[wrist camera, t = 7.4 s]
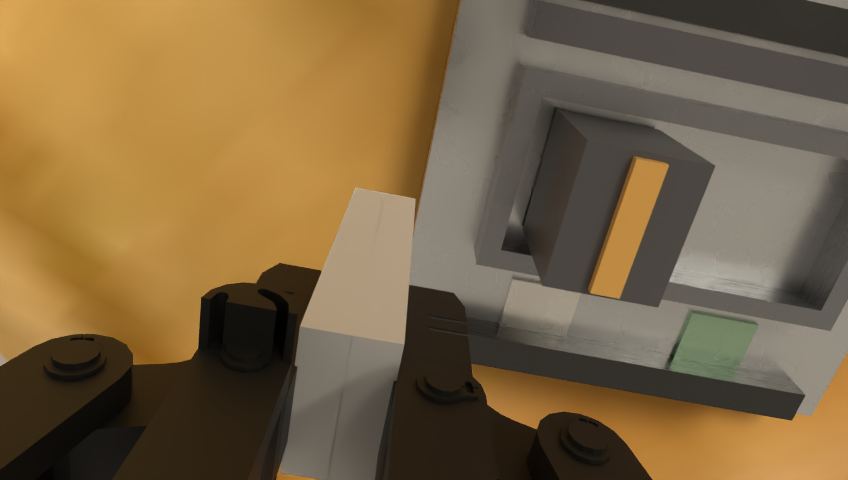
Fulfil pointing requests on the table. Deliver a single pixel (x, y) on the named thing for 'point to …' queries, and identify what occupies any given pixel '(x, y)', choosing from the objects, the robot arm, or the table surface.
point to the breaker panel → (717, 214)
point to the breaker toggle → (612, 207)
